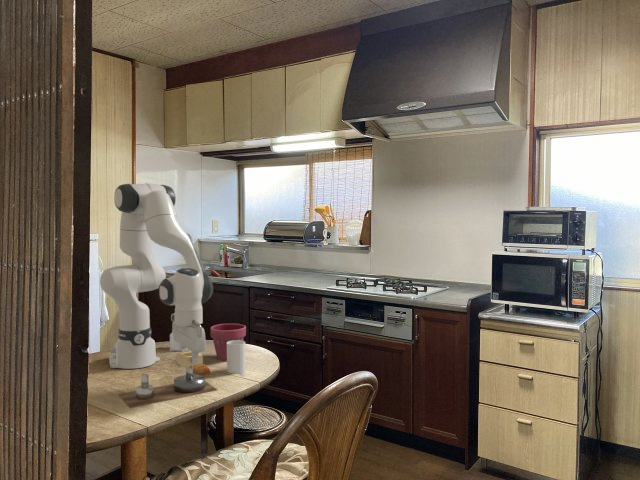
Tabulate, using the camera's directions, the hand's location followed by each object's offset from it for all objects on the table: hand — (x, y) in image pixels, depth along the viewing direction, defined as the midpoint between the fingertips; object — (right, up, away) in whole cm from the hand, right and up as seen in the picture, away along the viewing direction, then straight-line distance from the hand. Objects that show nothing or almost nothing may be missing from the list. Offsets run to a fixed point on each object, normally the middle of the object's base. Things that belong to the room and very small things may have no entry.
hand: (189, 359), depth 171 cm
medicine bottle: (-18, -8, +55) cm, 58 cm away
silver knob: (-12, -10, -8) cm, 17 cm away
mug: (+12, -10, +21) cm, 27 cm away
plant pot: (+5, -9, +42) cm, 43 cm away
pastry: (-1, -10, +19) cm, 22 cm away
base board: (-6, -11, -3) cm, 13 cm away
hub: (0, -10, +1) cm, 10 cm away
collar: (0, -1, 0) cm, 1 cm away
